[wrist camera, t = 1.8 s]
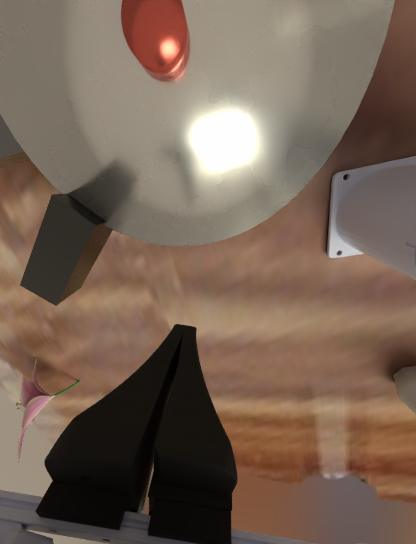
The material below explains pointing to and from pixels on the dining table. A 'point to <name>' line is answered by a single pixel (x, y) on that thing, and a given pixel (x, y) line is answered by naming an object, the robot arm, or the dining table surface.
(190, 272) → the dining table surface
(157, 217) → the cooker lid
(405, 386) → the beige pestle
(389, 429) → the dining table surface
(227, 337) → the dining table surface
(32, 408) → the lily
